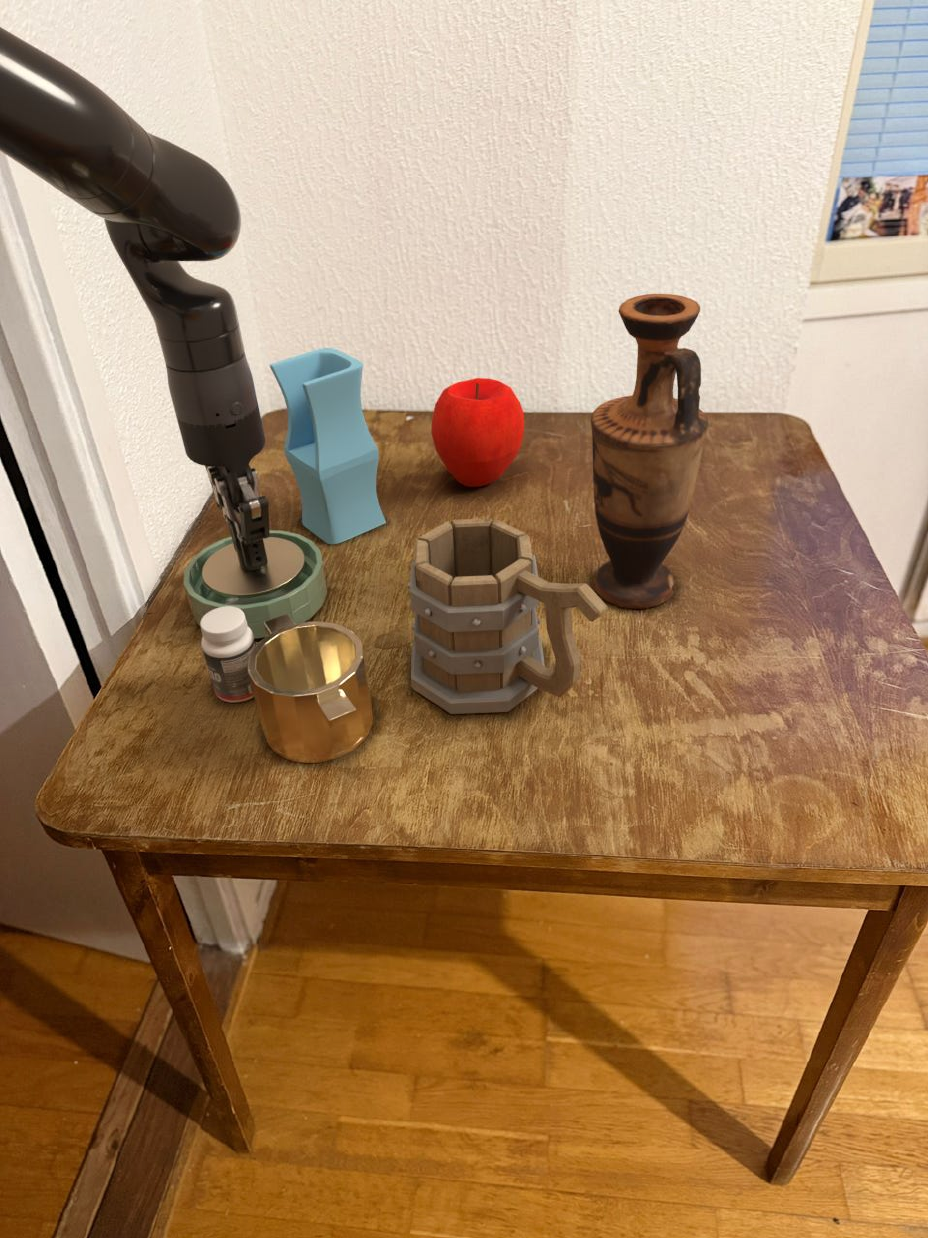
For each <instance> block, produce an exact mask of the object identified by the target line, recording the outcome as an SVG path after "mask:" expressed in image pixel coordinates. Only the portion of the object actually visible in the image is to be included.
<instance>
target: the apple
mask: <svg viewBox="0 0 928 1238" xmlns="http://www.w3.org/2000/svg"><path fill="white" fill-rule="evenodd" d="M430 426H431V427H430V428H431V429H430V430H431V431H430V434H431V437H432V441H433V445H434V448H435V451H436V453H437V455H438V457H439V459H440V460H441V462H442V464H443V465H444V467H445V468H446V470H447V471H448V472H449V473H450V475H451V476H453V478H454V479H455V480H456V481H457V483H459V484H461V485H463V486H465V487H468V488H479V487H483V486H487V485H490V484H492V483H494V482H496V481H497V480H499V479H500V478H501V477H502V476H503V475H504V473H505V472H506V471H507V469H508V468H509V467H510V466H511V464H512V463H513V462H514V460H515V459H516V457H517V455H518V453H519V450H520V449H521V446H522V443H523V439H524V434H525V413H524V410H523V407H522V403H521V401H520V400H519V398H518V397H517V395H516V393H515V392H514V390H513V389H512V387H510V385H507V384H506V383H503V382H502V381H500V380H497V379H493V378H492V379H491V378H485V377H484V378H483V377H476V378H472V379H468V380H461V381H458V382H455V383H452V384H451V385H449V386H447V387H446V388H444V389H443V390H442V392H441V394H440V395H439V397H438V399H437V400H436V402H435V404H434V408H433V413H432V418H431V425H430Z"/></svg>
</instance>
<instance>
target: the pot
mask: <svg viewBox="0 0 928 1238" xmlns="http://www.w3.org/2000/svg"><path fill="white" fill-rule="evenodd" d="M264 625H265V630H266V632H267V633H268V635H269V636H267V637H263V638H262V639H261V640H260V641H259V642H258V643H256V644H255V645H256V647H255V648H254V650H253V651H252V653H251V654H250V655H249V662H248V674H249V678H250V682H251V686H252V690H253V694H254V697H253V698H254V701H255V705H256V709H257V713H258V717H259V720H260V724H261V729H262V732H263V735H264V737H265V740H266V742H267V744H268V746H269V747H270V749H271V750H273V752H274V753H276V754H277V755H278V756H280V757H282V758H284V759H286V760H288V761H291V762H295V763H304V764H315V763H316V764H317V763H323V762H328V761H333V760H335V759H339V758H341V757H344V756H345V755H347V754H349V753H350V752H352V751H354V750H355V749H356V748H357V747H360V745H361V744H362V743H363V742H364V741H365V739H366V738H367V737H368V735H369V733H370V732H371V729H372V726H373V723H374V722H373V720H374V716H373V706H372V698H371V691H370V685H369V678H368V671H367V663H366V657H365V652H364V651H365V649H364V644H363V642H362V641H361V639H360V638H359V636H357V635H356V634H355V632H354V631H353V630H351V629H349V628H347V627H345V626H343V625H342V624H339V623H334V622H328V621H320V620H313V621H312V620H311V621H305V622H304V623H296V624H295V623H294V621H293V620H292V618H291V617H290V616H289V614H285V615H283V616H280V617H277V618H274V619H271V620H269V621H266V622H264Z"/></svg>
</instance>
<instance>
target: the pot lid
mask: <svg viewBox="0 0 928 1238" xmlns="http://www.w3.org/2000/svg"><path fill="white" fill-rule="evenodd" d="M229 523H230V527H231V531H232V535H233V539H234V543H235V547H236V551H237V552H236V551H235V549H234V545H233V543H231V544H229V545H227V546H225V547H223V548H221V549H219V550H218V551H216V552H215V553H214V554H213V555H211V556H210V557H209V558H208V560H207V561H206V562H205V564H204V566H203V570H202V577H203V581H204V583H205V585H206V586H207V587H208V588H209V589H210V590H211V591H213V592H215V593H217V594H219V595H222V596H225V597H231V598H253V597H259V596H264V595H267V594H271V593H273V592H276V591H279V590H281V589H283V588H285V587H286V586H288V585H290V584H291V583H292V582H294V581H295V580H296V579H297V578H298V577H299V576H300V574H301V573H302V571H303V569H304V567H305V556H304V553H303V551H302V550H301V548H300V547H299V546H298V545H296V544H295V543H293V542H291V541H288V540H286V539H282V538H276V537H268V538H265V539H263V542H264V546H265V551H266V555H267V560H268V563H267V564H266V565H265V566H263V567H260V568H257V569H254V570H249V569H248V568H247V567H246V565H245V562H244V557H243V553H242V549H241V545H240V541H239V539H238V537H237V531H236V527H235V523H234V522H232V521H231V520H230V522H229Z"/></svg>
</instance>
